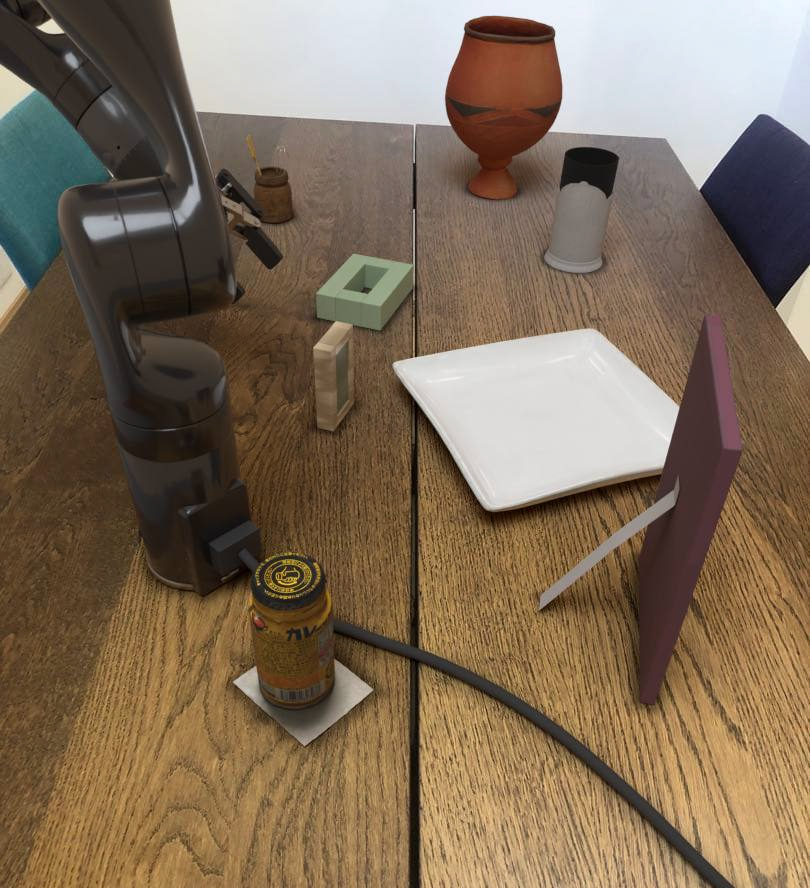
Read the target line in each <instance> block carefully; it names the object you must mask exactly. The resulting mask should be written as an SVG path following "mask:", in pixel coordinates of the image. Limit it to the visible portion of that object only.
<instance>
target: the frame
mask: <svg viewBox="0 0 810 888" xmlns="http://www.w3.org/2000/svg"><path fill="white" fill-rule="evenodd" d="M312 349H313V350H312V351H313V352H312V353H313V367H314V368H313V373H314V391H315V410H316V412H315V413H316V428H317V429H319V430H325V431H328V432H329V431H330V432H333V433H334V432H335V431H336V429H337V427H338V426H339V425H340V423H341V422H342V421H343V419H344V418H345V417H346V415H348V412H349V411H350V410H351V409H352V407H353V405H354V404H355V387H354V386H355V385H354V383H355V382H354V376H355V375H354V373H355V372H354V371H355V370H354V325H352V324H347V323H343V322H338V321H334V322H333V324H332V325H331V326H330V327H329V329H328V330H327V331H326V332H325V333H324V335H322V336H321V338H320V339H319V340H318V342H317V343H316V344H315V345H314V346H313V347H312Z"/></svg>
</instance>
